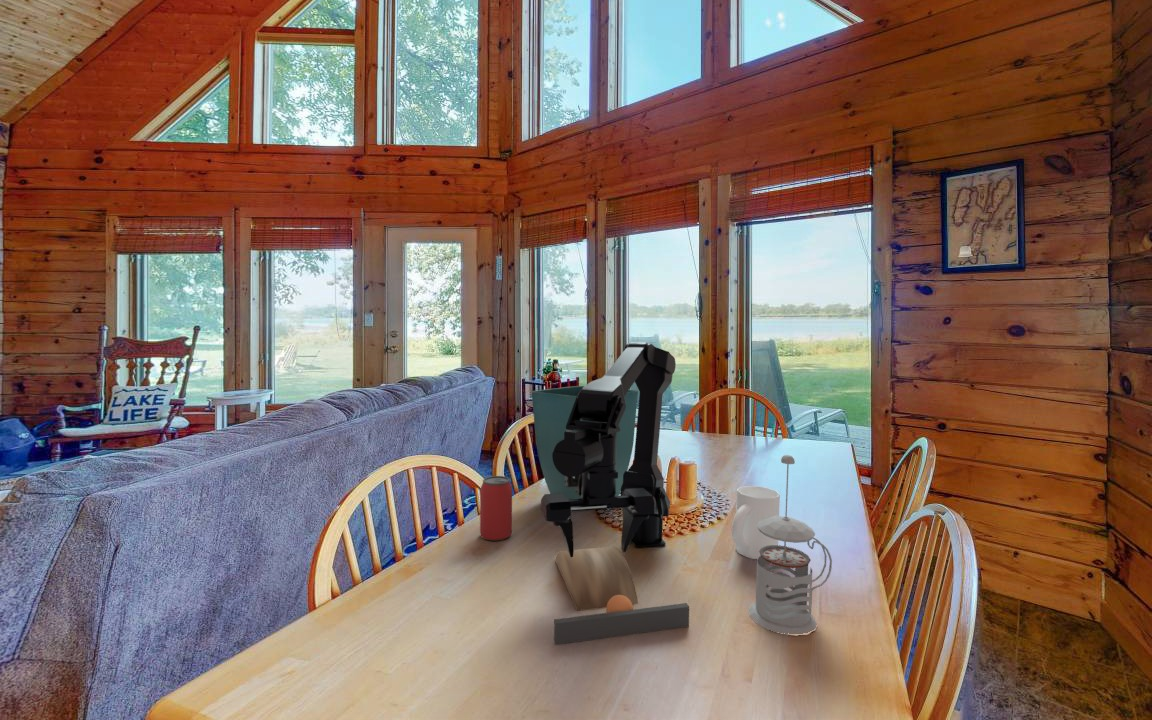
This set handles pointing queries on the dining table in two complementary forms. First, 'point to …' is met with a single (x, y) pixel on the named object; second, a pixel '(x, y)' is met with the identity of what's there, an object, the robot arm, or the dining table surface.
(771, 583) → the french press
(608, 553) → the hump
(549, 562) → the dining table surface
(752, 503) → the mug
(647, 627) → the bar
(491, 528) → the beer can
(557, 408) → the flower pot
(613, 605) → the ball
